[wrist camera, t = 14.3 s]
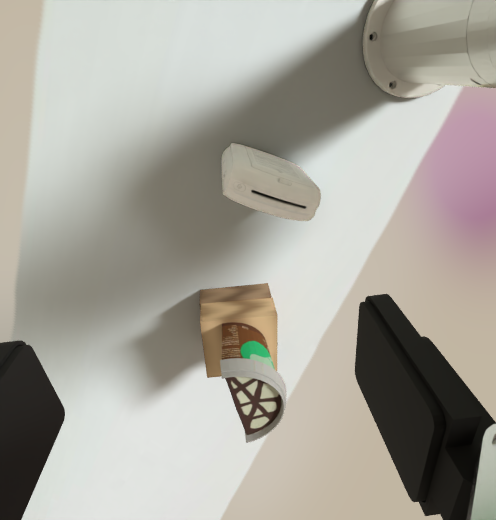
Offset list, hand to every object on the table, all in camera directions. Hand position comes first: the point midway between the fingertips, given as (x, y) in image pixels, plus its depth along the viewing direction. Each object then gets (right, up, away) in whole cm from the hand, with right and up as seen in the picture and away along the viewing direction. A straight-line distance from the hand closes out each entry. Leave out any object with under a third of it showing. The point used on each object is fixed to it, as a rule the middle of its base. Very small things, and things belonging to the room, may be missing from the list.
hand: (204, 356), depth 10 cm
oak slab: (0, -7, +41) cm, 42 cm away
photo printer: (+3, +14, +34) cm, 37 cm away
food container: (+2, -9, +38) cm, 39 cm away
